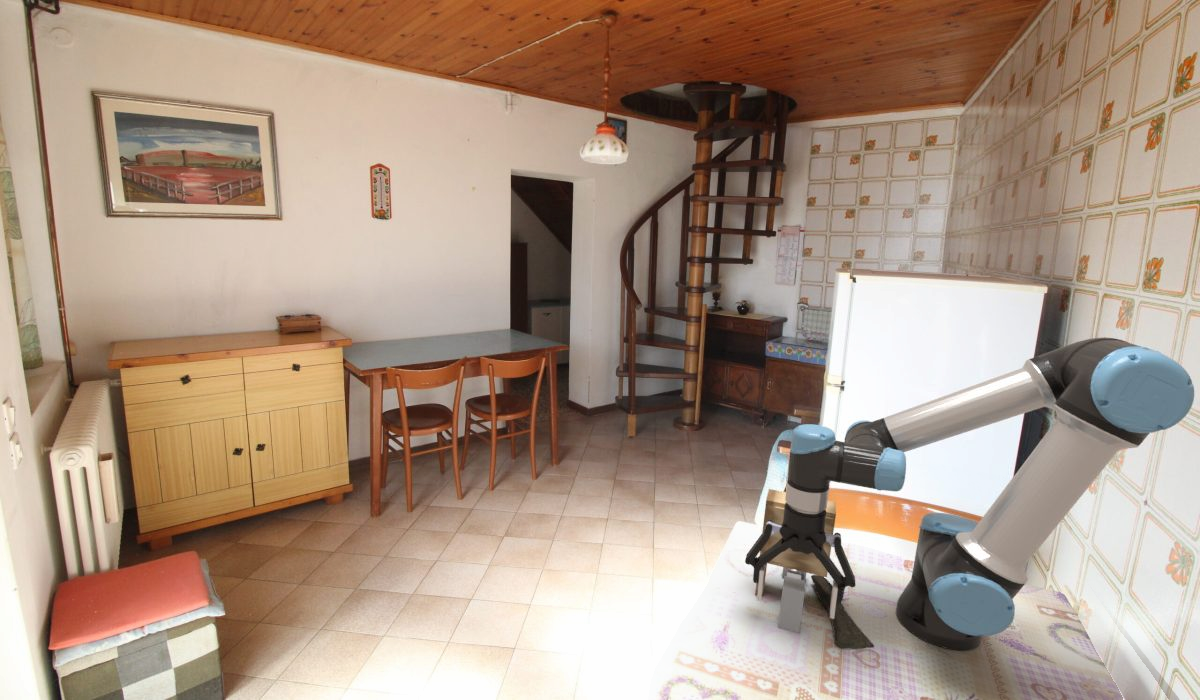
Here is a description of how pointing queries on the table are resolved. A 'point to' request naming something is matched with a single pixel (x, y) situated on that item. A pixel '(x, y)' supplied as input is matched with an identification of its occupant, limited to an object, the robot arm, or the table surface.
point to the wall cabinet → (789, 557)
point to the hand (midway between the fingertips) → (794, 605)
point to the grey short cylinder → (803, 574)
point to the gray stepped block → (791, 602)
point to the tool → (840, 619)
